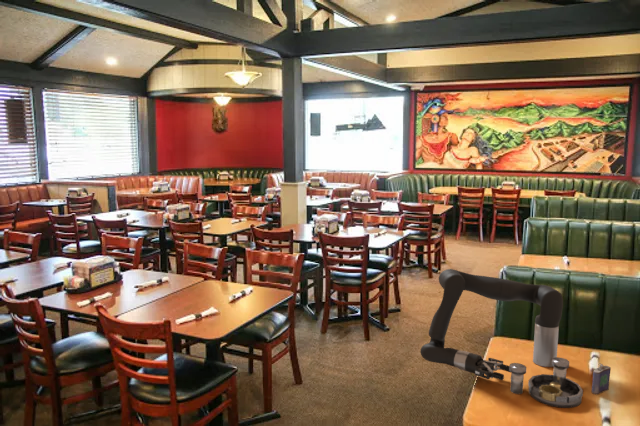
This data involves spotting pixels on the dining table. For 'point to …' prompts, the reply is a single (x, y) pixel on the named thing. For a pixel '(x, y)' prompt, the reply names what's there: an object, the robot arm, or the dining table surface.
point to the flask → (601, 379)
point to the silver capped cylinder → (517, 377)
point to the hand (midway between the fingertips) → (507, 373)
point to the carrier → (556, 387)
